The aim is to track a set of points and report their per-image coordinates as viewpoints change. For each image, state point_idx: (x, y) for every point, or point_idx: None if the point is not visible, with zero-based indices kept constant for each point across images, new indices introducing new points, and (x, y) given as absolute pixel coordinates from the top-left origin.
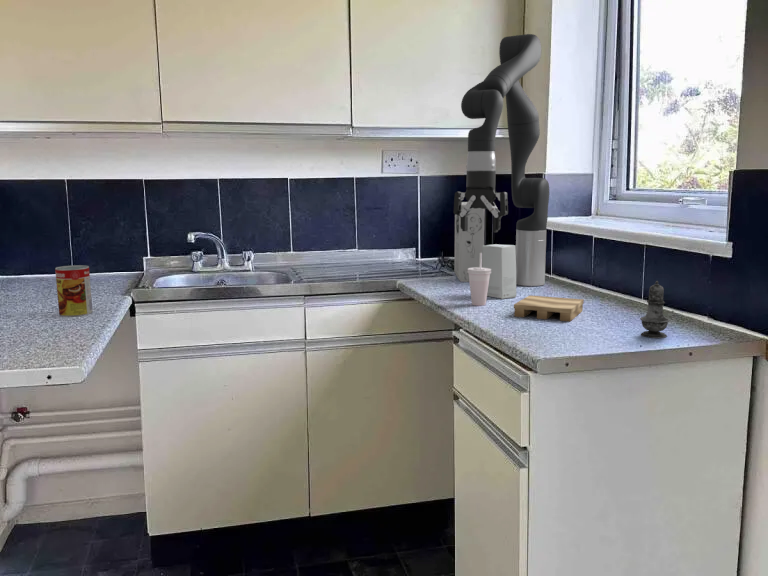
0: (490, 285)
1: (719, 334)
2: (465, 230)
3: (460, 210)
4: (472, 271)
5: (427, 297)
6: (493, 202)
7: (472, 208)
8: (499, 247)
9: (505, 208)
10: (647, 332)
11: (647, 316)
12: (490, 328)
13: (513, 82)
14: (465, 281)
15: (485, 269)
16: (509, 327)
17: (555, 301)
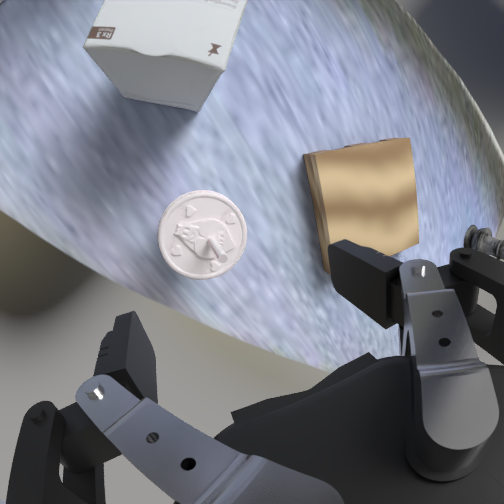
0: (152, 98)
1: (498, 189)
2: (149, 344)
3: (68, 439)
4: (204, 278)
5: (34, 232)
6: (467, 335)
7: (157, 406)
8: (209, 67)
9: (492, 313)
10: (469, 241)
11: (484, 253)
12: (328, 361)
13: None
14: (2, 1)
15: (227, 230)
16: (347, 337)
17: (383, 192)
